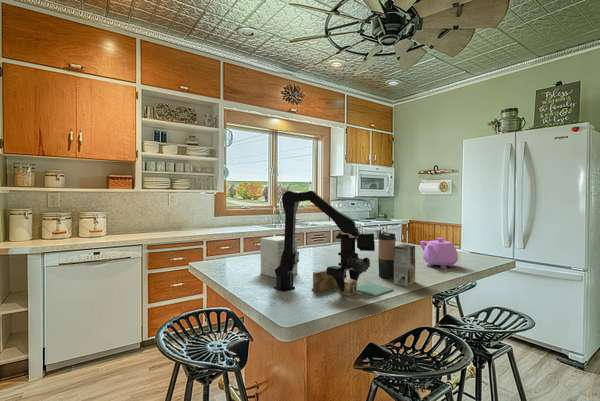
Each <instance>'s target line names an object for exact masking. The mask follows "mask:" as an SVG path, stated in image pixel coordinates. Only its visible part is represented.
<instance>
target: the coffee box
mask: <svg viewBox="0 0 600 401" xmlns="http://www.w3.org/2000/svg"><path fill="white" fill-rule="evenodd" d="M414 283H416V245H413V244H412V245H411V244H405V243H402V244H398V245H395V247H394V278H393V284H394V285H397V286H403V287H409V286H411V285H412V284H414Z"/></svg>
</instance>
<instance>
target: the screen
mask: <svg viewBox="0 0 600 401" xmlns="http://www.w3.org/2000/svg"><path fill="white" fill-rule="evenodd" d="M345 269H346V268H345ZM345 275H347V271H345ZM335 287H339V286H338V284H337V282H336V280H335V279H334V277H333V276H332V275H328V274H326V269H323V270H317V271H314V272H313V273H312V288H311V291H312V292H313V293H322V291H325V290H329V289H332V288H335Z"/></svg>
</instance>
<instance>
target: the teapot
mask: <svg viewBox="0 0 600 401" xmlns="http://www.w3.org/2000/svg"><path fill="white" fill-rule="evenodd" d="M419 243H420V244H419V245H420V248H421V249H422V251H423V253H422V259H423V260H424V261H425V263H427V265H426V266H427V267H434V265H435V266H436V265H437V266H440V269H443V270H447V267H449V266H450V267H449V268H452V267H454V265H455V264H457V262H458V261H459V255H458V254H459V253H458V251H457V248H456V246H455V245H454V243H453V242H452V241H447V240H445V238H443V237H436V240H429V241H427V240H420V242H419ZM425 244H426V245H425Z"/></svg>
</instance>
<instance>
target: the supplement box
mask: <svg viewBox="0 0 600 401" xmlns="http://www.w3.org/2000/svg"><path fill="white" fill-rule="evenodd" d="M284 238H285V235H275V236H268V237H261V238H260V240H259V241H260V274H262V275H264V276H268V277H272V278H275V279H276V274H275V269H276V268H277V267H278V266H279V265H280V261H281V256H282V253H283V250H284ZM295 250H296V252H298V237H295ZM291 272H292V273H293V275H297V274H298V265H297V266H296V267H295V268H293V271H291Z"/></svg>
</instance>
